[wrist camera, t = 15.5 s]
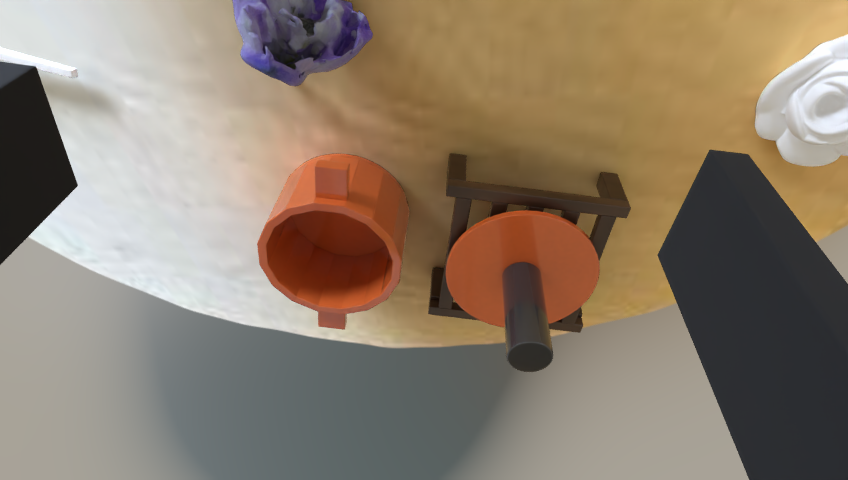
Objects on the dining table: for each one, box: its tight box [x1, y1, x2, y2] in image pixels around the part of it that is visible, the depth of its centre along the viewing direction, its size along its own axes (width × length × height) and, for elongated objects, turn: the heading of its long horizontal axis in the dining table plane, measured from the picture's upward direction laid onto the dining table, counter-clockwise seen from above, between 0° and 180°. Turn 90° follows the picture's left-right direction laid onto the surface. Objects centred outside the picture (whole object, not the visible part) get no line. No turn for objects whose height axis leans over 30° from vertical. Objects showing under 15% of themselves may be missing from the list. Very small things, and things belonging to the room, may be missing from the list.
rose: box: [755, 35, 848, 166], centre depth 39 cm, size 10×4×10 cm
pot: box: [257, 154, 409, 329], centre depth 47 cm, size 11×17×8 cm
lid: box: [446, 210, 600, 372], centre depth 42 cm, size 12×12×10 cm
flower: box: [232, 0, 373, 86], centre depth 37 cm, size 9×9×10 cm
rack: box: [428, 154, 631, 332], centre depth 48 cm, size 14×14×5 cm
